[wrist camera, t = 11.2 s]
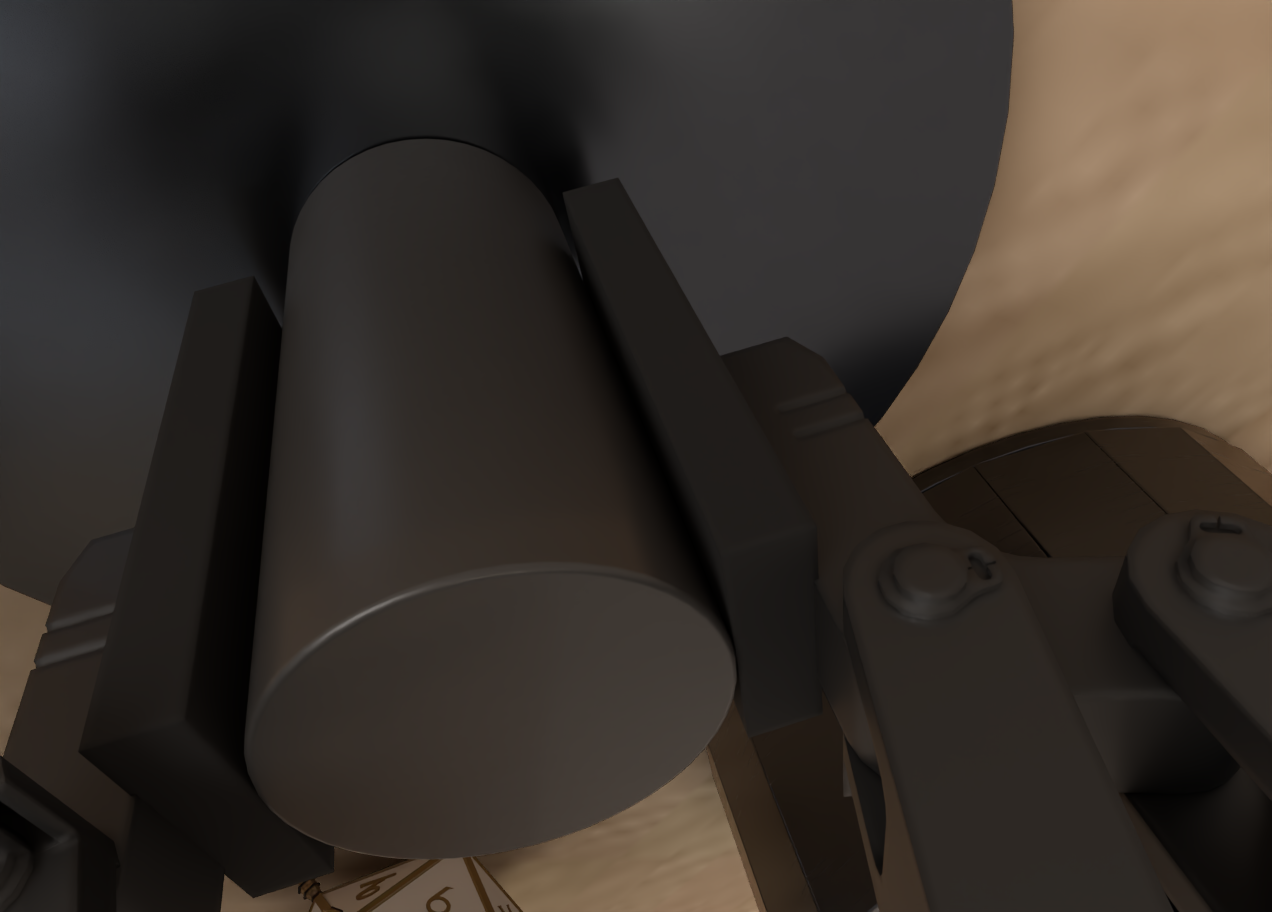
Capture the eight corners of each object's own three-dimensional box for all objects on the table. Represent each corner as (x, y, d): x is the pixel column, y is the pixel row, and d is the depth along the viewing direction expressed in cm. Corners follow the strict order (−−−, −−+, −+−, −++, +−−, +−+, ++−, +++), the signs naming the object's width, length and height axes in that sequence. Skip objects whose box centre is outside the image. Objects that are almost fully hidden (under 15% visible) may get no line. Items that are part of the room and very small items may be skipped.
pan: (727, 858, 32) (809, 1100, 26) (660, 542, 20) (781, 862, 14) (1168, 710, 33) (1332, 911, 28) (1350, 332, 21) (1701, 551, 16)
